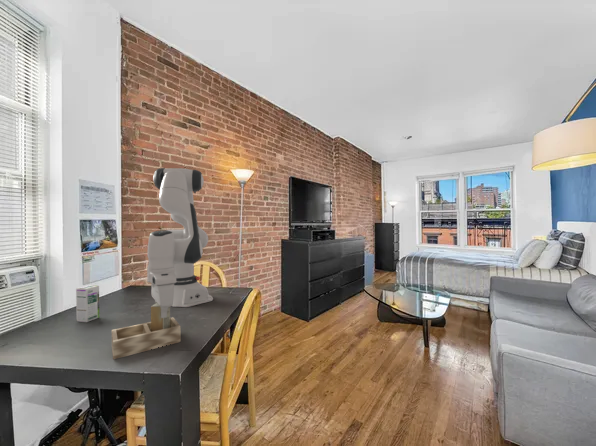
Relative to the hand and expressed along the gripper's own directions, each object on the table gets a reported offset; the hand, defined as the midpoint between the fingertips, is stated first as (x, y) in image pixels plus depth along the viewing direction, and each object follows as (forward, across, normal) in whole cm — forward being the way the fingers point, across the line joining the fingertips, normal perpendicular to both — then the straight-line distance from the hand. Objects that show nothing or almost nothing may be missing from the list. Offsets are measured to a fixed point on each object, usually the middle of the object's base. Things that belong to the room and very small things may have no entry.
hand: (161, 313), depth 93 cm
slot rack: (+10, 0, -4) cm, 11 cm away
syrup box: (+9, -42, -21) cm, 49 cm away
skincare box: (+8, 0, 0) cm, 9 cm away
